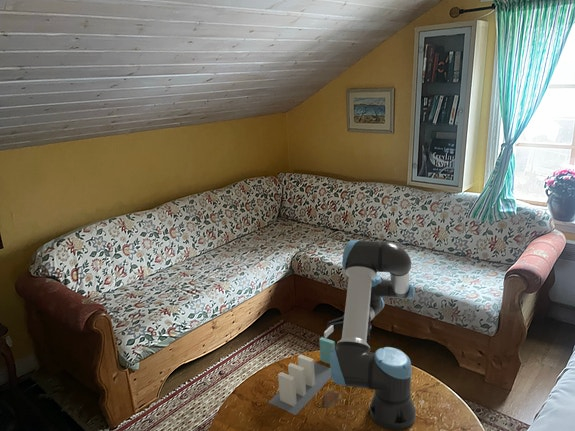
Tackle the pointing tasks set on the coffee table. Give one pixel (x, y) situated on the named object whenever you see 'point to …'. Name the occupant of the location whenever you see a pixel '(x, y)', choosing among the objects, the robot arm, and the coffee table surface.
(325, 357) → the teal domino
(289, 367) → the ivory domino
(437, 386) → the coffee table surface
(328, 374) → the slate runway
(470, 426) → the coffee table surface
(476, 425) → the coffee table surface
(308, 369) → the ivory domino
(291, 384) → the ivory domino
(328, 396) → the shard
